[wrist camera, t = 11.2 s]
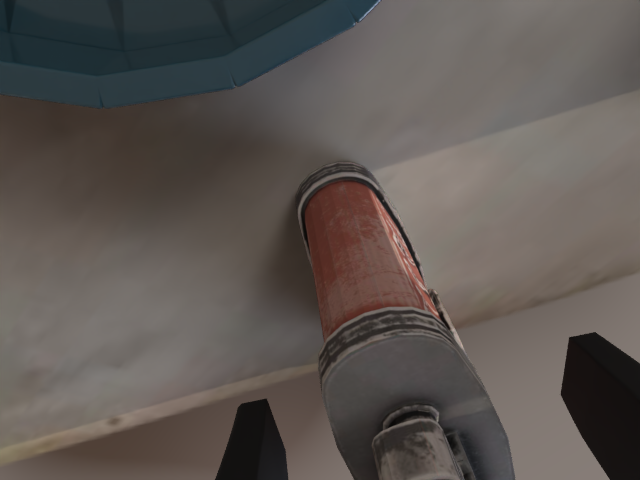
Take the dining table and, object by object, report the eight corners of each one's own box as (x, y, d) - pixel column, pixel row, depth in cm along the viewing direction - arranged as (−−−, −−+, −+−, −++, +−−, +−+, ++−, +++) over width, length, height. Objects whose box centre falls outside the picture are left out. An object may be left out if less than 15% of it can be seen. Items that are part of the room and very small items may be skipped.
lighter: (442, 325, 19) (592, 647, 10) (360, 355, 19) (440, 689, 11) (375, 143, 14) (541, 440, 6) (271, 187, 15) (289, 523, 6)
